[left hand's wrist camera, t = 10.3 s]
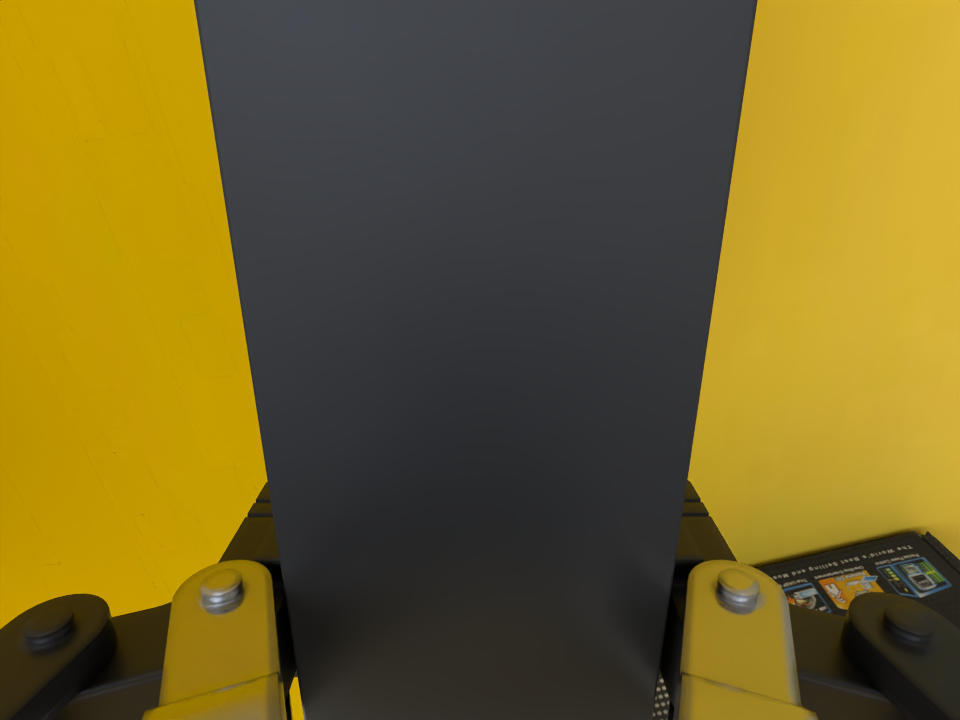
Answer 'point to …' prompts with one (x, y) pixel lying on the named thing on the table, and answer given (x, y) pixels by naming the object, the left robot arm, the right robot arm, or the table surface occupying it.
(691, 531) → the left robot arm
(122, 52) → the table surface
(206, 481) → the table surface
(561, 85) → the bar
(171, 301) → the table surface
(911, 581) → the box
